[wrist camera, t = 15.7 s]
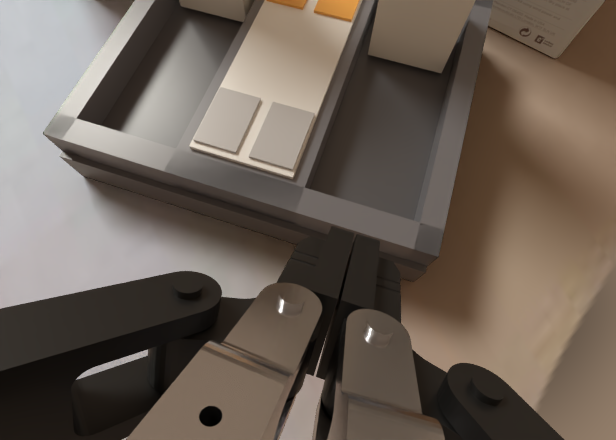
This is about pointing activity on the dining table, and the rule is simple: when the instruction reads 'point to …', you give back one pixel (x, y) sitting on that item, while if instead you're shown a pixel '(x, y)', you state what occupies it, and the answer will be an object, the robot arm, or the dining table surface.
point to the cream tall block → (418, 31)
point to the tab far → (221, 7)
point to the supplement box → (543, 21)
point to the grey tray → (277, 121)
